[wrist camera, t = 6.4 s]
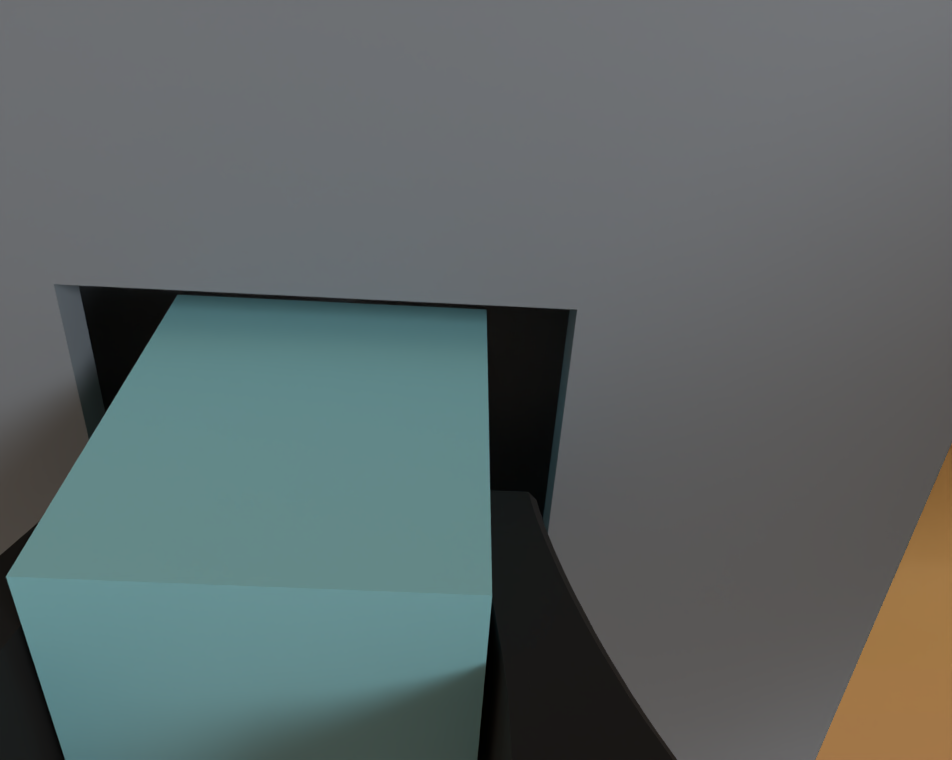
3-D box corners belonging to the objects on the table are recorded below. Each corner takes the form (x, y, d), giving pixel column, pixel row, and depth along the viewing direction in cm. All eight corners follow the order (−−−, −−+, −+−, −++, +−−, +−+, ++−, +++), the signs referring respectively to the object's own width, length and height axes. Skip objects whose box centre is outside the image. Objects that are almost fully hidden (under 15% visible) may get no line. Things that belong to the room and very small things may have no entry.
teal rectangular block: (486, 309, 12) (491, 596, 7) (470, 537, 14) (468, 857, 10) (178, 294, 12) (6, 576, 7) (210, 526, 14) (92, 846, 9)
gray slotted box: (948, -266, 12) (1276, -313, 7) (698, 631, 22) (764, 876, 17) (-241, -347, 12) (-775, -458, 7) (43, 605, 22) (-89, 850, 17)
